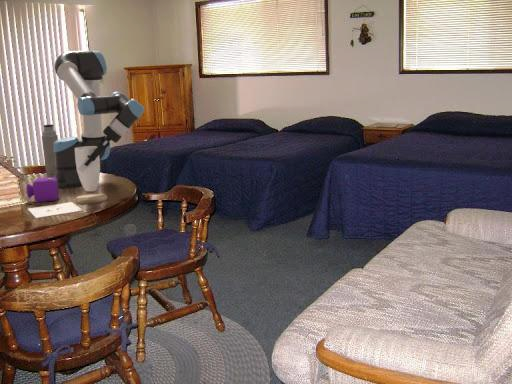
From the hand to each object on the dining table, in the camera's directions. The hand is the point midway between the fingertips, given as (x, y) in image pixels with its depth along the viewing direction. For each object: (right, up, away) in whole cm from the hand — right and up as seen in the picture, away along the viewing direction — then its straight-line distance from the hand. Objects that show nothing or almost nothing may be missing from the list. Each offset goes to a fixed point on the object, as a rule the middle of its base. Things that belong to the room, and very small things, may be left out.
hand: (81, 168), depth 238 cm
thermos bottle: (-35, -2, +64) cm, 73 cm away
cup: (+3, -12, +4) cm, 13 cm away
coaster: (+3, -14, +4) cm, 15 cm away
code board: (-8, -17, -11) cm, 22 cm away
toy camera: (-19, -14, +8) cm, 25 cm away
